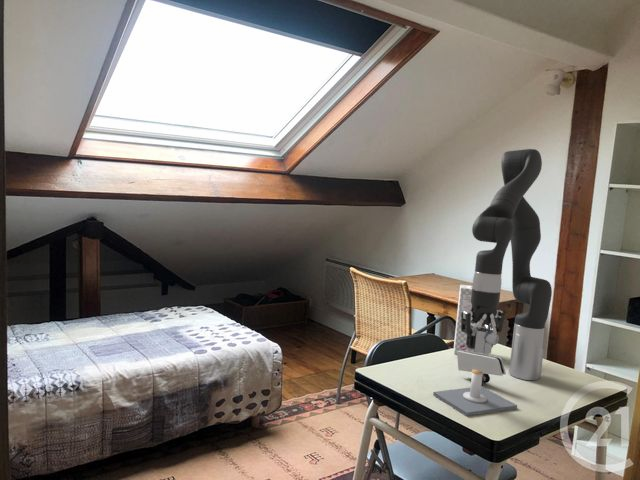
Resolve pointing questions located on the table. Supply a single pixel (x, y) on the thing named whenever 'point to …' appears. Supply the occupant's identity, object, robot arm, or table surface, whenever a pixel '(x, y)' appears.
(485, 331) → the grey octagonal hollow block
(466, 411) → the panel
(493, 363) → the bracket
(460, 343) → the box
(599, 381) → the table surface
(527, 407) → the table surface
